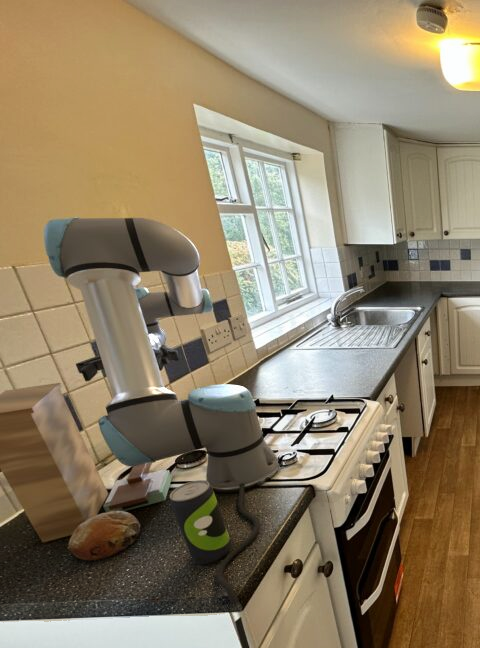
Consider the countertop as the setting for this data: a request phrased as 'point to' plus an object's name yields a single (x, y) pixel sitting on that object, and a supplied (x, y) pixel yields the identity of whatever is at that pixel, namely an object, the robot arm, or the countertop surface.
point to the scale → (155, 495)
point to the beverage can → (200, 521)
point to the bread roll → (104, 535)
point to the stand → (48, 461)
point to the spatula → (133, 488)
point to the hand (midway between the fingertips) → (122, 370)
